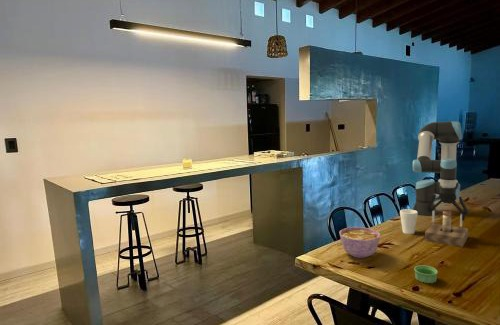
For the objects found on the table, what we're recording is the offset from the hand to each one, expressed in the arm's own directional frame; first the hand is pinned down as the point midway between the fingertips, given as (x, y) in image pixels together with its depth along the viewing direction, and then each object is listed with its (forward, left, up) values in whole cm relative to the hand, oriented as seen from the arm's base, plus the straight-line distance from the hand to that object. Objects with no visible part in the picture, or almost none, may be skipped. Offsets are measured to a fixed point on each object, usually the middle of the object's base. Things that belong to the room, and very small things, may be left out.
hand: (446, 223), depth 185 cm
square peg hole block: (0, 0, -9) cm, 9 cm away
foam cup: (-20, 0, -9) cm, 22 cm away
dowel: (0, 0, -9) cm, 9 cm away
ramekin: (+2, -56, -9) cm, 57 cm away
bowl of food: (-31, -47, -9) cm, 57 cm away
